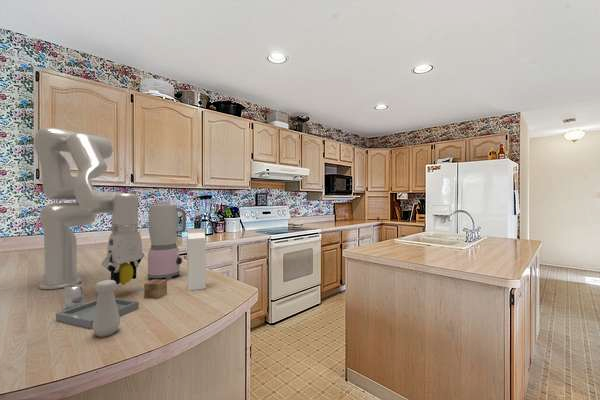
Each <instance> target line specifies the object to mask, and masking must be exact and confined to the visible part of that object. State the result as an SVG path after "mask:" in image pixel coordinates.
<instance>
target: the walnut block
mask: <svg viewBox="0 0 600 400" xmlns="http://www.w3.org/2000/svg"><path fill="white" fill-rule="evenodd" d="M143 286H144V287H143V289H144V290H143V293H144V294H143V297H144V298H143V299H154V300H155V299H156V300H158V299H161V298H162V297H164V296H165V295H167V294H168V280H166V279H161V278H152V279H150V280H149V281H147V282H145V283H144V284H143Z"/></svg>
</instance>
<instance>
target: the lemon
mask: <svg viewBox="0 0 600 400" xmlns="http://www.w3.org/2000/svg"><path fill="white" fill-rule="evenodd" d="M118 272H119V273H120V283H119V284H121V285H123V286H125V285H126V284H128V283H129V282H130V281H132V277H133V267H132V266H131V265H130V264H129V262H128V263H123V264H120V267H119V270H118Z"/></svg>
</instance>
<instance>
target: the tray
mask: <svg viewBox="0 0 600 400" xmlns="http://www.w3.org/2000/svg"><path fill="white" fill-rule="evenodd" d="M115 300H116V304H117V308H118V312H119V316H120V317H122V316H124V315H126V314H128V313H131V312H134V311H135V310H138V309H139V308H140V303H139V301H135V300H129V299H124V298H119V297H115ZM96 304H97V299H95V300H91V301H88V302H86V303H85V302H84V304H82V305H79V306H76V307H74V308H71V309H68V310H65V309H64V310H62V311H59V312H55V322H60V323H64V324H69V325H72V326H77V327H81V328H85V329H90V330H91V329H93V328H92V325H93V320H94V314H95V309H96Z"/></svg>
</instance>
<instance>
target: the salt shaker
mask: <svg viewBox="0 0 600 400" xmlns="http://www.w3.org/2000/svg"><path fill="white" fill-rule="evenodd" d="M116 288H117V284H116V281H114V280H111V279H105V280H101V281H98V282H97V283H96V284H95V289H94V290H95V292H96V293H97V294H98V295H97V299H96V300H97V304H96V309H95V314H94V320H93V325H92V328H91V329H92V330H93V332H94V334H95V335H96V337H101V338H102V337H107V336H111V335H113V334H115V333H117V331H118V329H119V326H120V324H121V316H119V312H118V308H117V304H116V300H115V298H116V296H115V292H114V290H117V289H116Z"/></svg>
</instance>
